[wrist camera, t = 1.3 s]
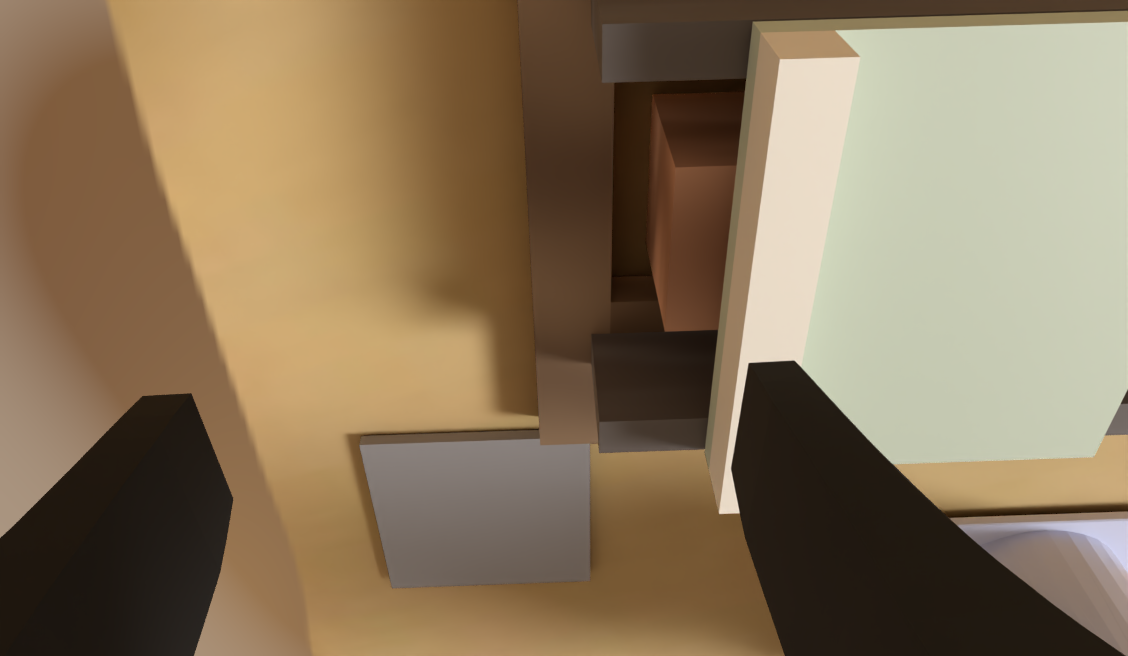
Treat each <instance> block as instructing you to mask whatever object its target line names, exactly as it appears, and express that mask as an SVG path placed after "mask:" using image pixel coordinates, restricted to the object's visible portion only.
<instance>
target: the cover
mask: <svg viewBox="0 0 1128 656" xmlns="http://www.w3.org/2000/svg"><path fill="white" fill-rule="evenodd" d="M792 360H794V361H795V362H796V363H797V364H799V365H800V366H801V368H802V369H803V370H804V371H805V372H806V373H807V374H808V375H809V376H810V377H811V378H812V379H813V380H814V382H815V383H816V384H817V385H818V386H819V387H820V388H821V389H822V390H823V391H824V392H825V394H826V395H827V396H828V397H829V398H830V399H831V400H832V401H833V402H834V403H835V404H836V406H837V407H838V408H839V409H840V410H841V411H842V412H843V413H844V414H845V415H846V416H847V417H848V418H849V419H850V421H851V422H852V423H853V424H854V425H855V426H856V427H857V428H858V429H859V430H860V431H861V432H862V433H863V434H864V435H865V436H866V438H867V439H868V440H869V441H870V442H871V443H872V444H873V445H874V446H875V447H876V448H877V449H878V450H879V451H880V452H881V453H882V454H883V455H884V456H885V457H886V458H887V459H888V460H889V461H890V462H891V463H892V464H913V463H942V462H970V461H998V460H1026V459H1055V458H1083V457H1094V456H1095V454H1096V452H1097V450H1098V448H1099V446H1100V444H1101V442H1102V440H1103V438H1104V436H1105V434H1106V432H1107V430H1108V428H1109V426H1110V424H1111V422H1112V420H1113V418H1114V416H1115V414H1116V412H1117V410H1118V408H1119V406H1120V404H1121V402H1122V400H1123V398H1124V396H1125V394H1126V392H1127V390H1128V11H1102V12H1067V13H1033V14H998V15H964V16H930V17H895V18H861V19H826V20H792V21H758V22H753V24H752V33H751V42H750V51H749V60H748V69H747V78H746V86H745V95H744V104H743V113H742V122H741V131H740V140H739V149H738V158H737V167H736V176H735V185H734V194H733V203H732V212H731V221H730V230H729V238H728V247H727V256H726V265H725V274H724V283H723V292H722V301H721V310H720V319H719V328H718V337H717V346H716V355H715V364H714V373H713V381H712V390H711V399H710V408H709V417H708V426H707V435H706V444H705V456H706V461H707V465H708V469H709V473H710V478H711V482H712V486H713V491H714V495H715V499H716V504H717V508H718V512H719V514H732V513H740V512H739V507H738V502H737V497H736V492H735V487H734V482H733V477H732V472H731V465H732V459H733V453H734V447H735V441H736V435H737V429H738V423H739V417H740V411H741V405H742V399H743V393H744V387H745V381H746V375H747V369H748V363H755V362H774V361H792Z"/></svg>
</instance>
